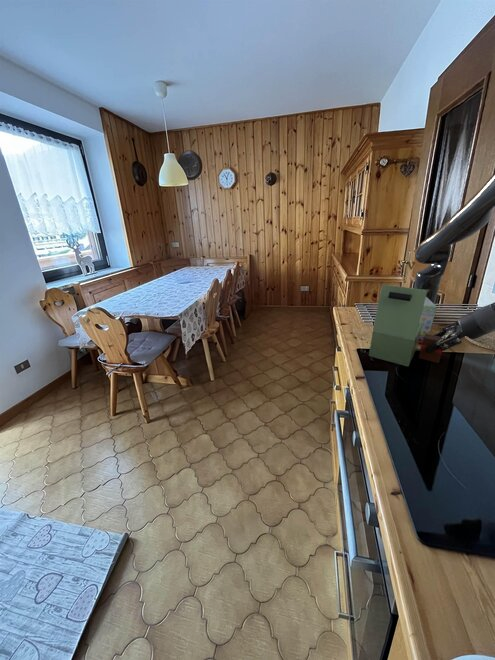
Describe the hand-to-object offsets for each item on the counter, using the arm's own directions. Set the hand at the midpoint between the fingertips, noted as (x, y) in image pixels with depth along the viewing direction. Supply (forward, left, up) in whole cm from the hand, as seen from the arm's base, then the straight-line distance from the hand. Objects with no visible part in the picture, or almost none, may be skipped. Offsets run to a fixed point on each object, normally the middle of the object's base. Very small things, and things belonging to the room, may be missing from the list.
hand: (428, 345), depth 95 cm
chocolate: (0, +1, -5) cm, 5 cm away
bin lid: (+7, -10, +13) cm, 18 cm away
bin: (+2, -10, -5) cm, 11 cm away
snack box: (-19, -8, -5) cm, 21 cm away
